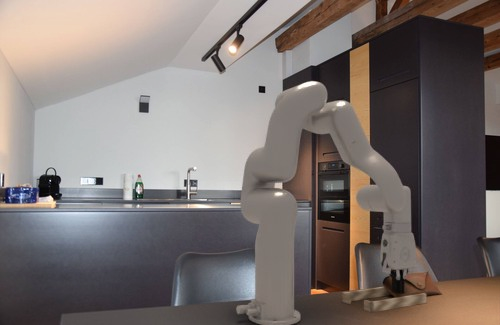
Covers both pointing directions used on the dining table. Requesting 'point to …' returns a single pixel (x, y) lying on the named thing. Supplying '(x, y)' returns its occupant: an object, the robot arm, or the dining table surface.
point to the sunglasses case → (414, 285)
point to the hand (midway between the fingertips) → (398, 292)
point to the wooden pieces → (382, 304)
